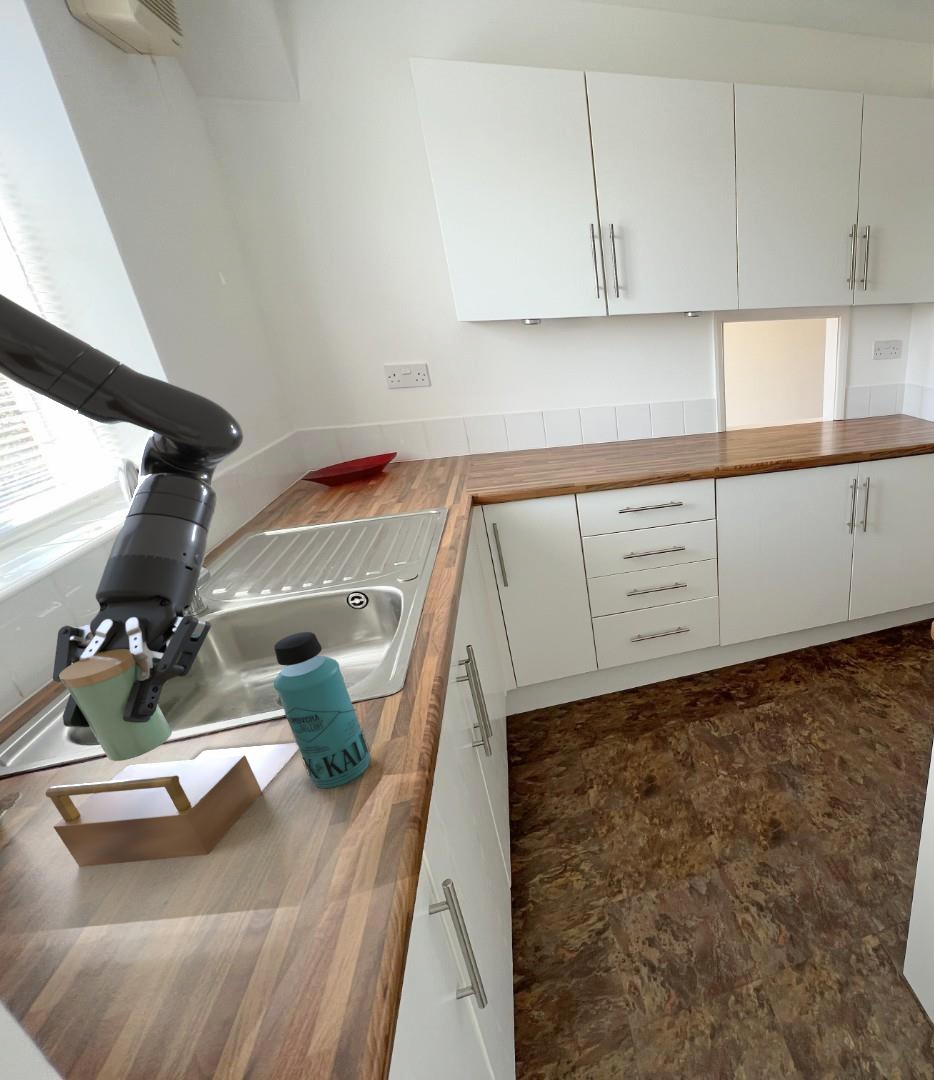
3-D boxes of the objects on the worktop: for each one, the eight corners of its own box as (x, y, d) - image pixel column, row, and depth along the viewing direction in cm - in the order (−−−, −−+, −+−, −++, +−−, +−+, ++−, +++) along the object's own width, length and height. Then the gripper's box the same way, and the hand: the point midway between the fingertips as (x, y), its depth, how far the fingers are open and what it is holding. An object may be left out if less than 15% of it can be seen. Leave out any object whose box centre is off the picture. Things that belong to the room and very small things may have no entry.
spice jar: (91, 764, 59) (42, 681, 55) (136, 729, 63) (93, 651, 60) (145, 759, 59) (99, 676, 55) (185, 725, 64) (146, 646, 60)
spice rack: (85, 876, 61) (32, 796, 57) (208, 759, 76) (173, 690, 72) (213, 864, 61) (170, 783, 57) (309, 750, 77) (280, 681, 73)
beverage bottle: (322, 769, 73) (267, 632, 66) (380, 753, 76) (333, 618, 68) (308, 807, 68) (246, 661, 60) (372, 789, 70) (320, 646, 62)
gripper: (53, 557, 61) (-13, 727, 54) (194, 546, 61) (146, 713, 55) (121, 581, 68) (70, 734, 61) (247, 570, 68) (211, 721, 61)
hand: (106, 723), depth 58 cm, fingers closed on spice jar, 5 cm apart
